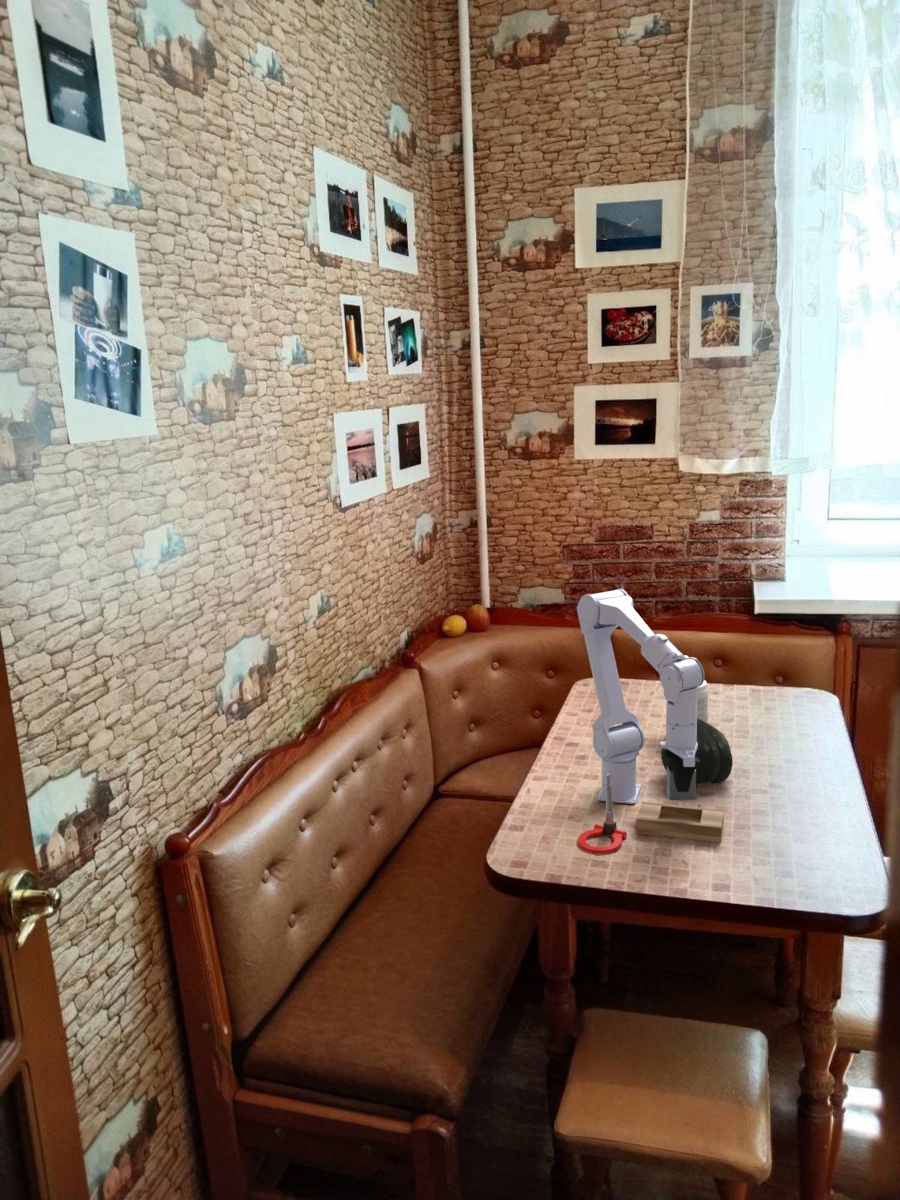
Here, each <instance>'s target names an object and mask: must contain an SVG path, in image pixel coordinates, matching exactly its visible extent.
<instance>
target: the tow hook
mask: <svg viewBox="0 0 900 1200" xmlns="http://www.w3.org/2000/svg"><path fill="white" fill-rule="evenodd" d="M605 792H606V801H605V821H604V822H603V825H600V824H598V823H595V824H594V826H593V829H589V830H586V831H584V832H582V833H580V835H578V838H577V845H578V846H579V848H580V849H581V850H582V851H585V852H587V853H590V852H591V854H597V855H599V854H600V855H603V854H604V855H605V853H606V854H611V853H613V852H616V851H617V850H620V848H621V847H622V845H623V840H626V838H627V837H628V833H627V831H626V830H625V831H624V830H620V829H617V822H616V821H614V810H613V802H612V787H611V784H610V774H606V784H605ZM603 834H604V835H605V836H610V837H611V839H612V841H613V842H612V843H611V844H608V845H605V846H595V845H591V844H589V843H588V842H587V840H588V839H589V838H594V837H598V836H599V837H600V836H602V835H603ZM598 853H599V854H598ZM602 853H603V854H602Z"/></svg>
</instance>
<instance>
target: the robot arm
mask: <svg viewBox="0 0 900 1200" xmlns="http://www.w3.org/2000/svg"><path fill="white" fill-rule="evenodd" d="M576 610H577V611H576V612H577V616H578V621H579V625H580V630H581V633H582V635H583V636H584V637H583V638H584V642H585V646H586V650H587V655H588V660H589V665H590V670H591V674H592V679H593V683H594V688H595V692H596V697H597V703H598V706H599V710H600V714H599V716H597V718H596V719H595V720H594V721H593V724H592V725H591V727H592V734H593V735H592V736H593V737H592V747H593V748H594V751H595V753H596V755H598V758H600V759H601V788H600V791H599V793H598V796H597V797H596V800H597V801H598V802H599V801H600V802H606V792H605V784H606V774H610V784H611V787H612V803H620V804H631V805H635V804H637V800H638V797H639V794H640V790H641V788H642V785H641V784H640V783H637V757H638V756H639V755H640V751H641V750H642V749H643V747H644V746H645V734H644V730H643V729H642V727H641V725H640V723H639V719H638V716H637V715H636V714H635V713H633V712H631V711H630V710H628V709H627V708H626V702H625V699H624V693H623V691H622V685H621V680H620V676H619V671H618V667H617V661H616V658H615V653H614V649H613V643H612V640H611V636H612V634H613V632H614V630H615V629H617V628H618V627H620V628H621V629H622V630H623V631H624V632H625V633H627V634H628V635H629V636H630V637H631V638H632V639H633V640H634V641H635V642H636V643H638V645H640V646H641V647H640V653H641V655H642V656H643V657H644V659H645V660H646V661H647V662H648V663H649V664H650V665H651V667H652V668H653V669H655V671H656V672H658V674H659V680H660V683H661V685H662V689H663V697H664V698H665V700H666V707H665V708H666V711H665V712H666V714H665V715H666V716H665V720H666V722H665V723H666V724H665V725H666V726H665V728H666V729H665V735H666V736H665V739H666V741H665V740H664V741H659V747H660V748H661V749H662V748H663V750H664V751H665V753H666V756H667V758H668V762H669V765H672V768H673V771H674V777H675V784H676V789H677V791H678V792H688V791H689V788H690V784H691V780H692V777H693V774H694V772H695V770H696V768H697V767H698V765H699V763H700V760H699V759H698V758H695V753H696V750H697V747H698V743H697V692H698V688H697V687H700V686H701V685H702V684H703V682H704V680H705V678H706V677H705V670H704V667H703V665H702V663H701V662H700V661H699V660H698V658H696V657H692V656H690V657H689V656H688V655H686V654H685V655H684V653H682V652H681V651H680V650H678V648H677V647H676V646H675V645H674V644H673V643H672V642H671V641H670V640H669V637H668V636H667V635H666V634H663V633H654V632H653V631H652V629H651V628H650V627H649V626H648V624H646V622H645V621H644V619H643V618H642V617H641V616H640V614H639V613H638V612H637V611H636V610H635V608H634V600H633V598H632V597H631V596H630V595H629V594H628V592H627V591H625V589H623V588H617V589H614V590H609V591H603V592H602V591H601V592H597V593H591V594H590V593H587V594H584V595H582V596H581V597H580V599H579V601H578V603H577V606H576Z"/></svg>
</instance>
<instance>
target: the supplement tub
mask: <svg viewBox="0 0 900 1200" xmlns="http://www.w3.org/2000/svg"><path fill="white" fill-rule="evenodd" d="M697 688H698V692H697V718H698V719H700V720H702V721H704V722H706V723H708V724H709V719H708V718H709V710H708V709H709V705H708V704H709V696H708V695H709V694H708V693H709V691H708V690H709V689H708V683H707V680H705V679H704V682H703V684H702V685H701V686H700V687H697Z"/></svg>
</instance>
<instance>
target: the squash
mask: <svg viewBox="0 0 900 1200" xmlns="http://www.w3.org/2000/svg"><path fill="white" fill-rule="evenodd" d="M664 741H666V738H665V739H664ZM697 743H698V747H697V750H696V753H695V758H698V759H699V760H700V763H699V765H698V767H697V768H696V786H697V785H699V786H700V785H702V784H703V783H704V782H705V783H709V784H712V785H713V784H714V785H717V784H721V783H723V782H725V781H726V780H728V778H729V777H730V776H731V773H732V770H733V769H732V768H733V762H734V761H733V755H732V750H731V746H730V744H729V741H728V739H727V738H726V736H725V735H724V734H723V732H722V731H720V729H718V728H716V727H715V726H713V725H712V724H709V722H708V723H706V722H704V721H702V720H700V719H698V718H697ZM660 758H661V763H662V765H663V768H664V770H665V771H666V773H667V765H669V762H668V758H667V756H666V753H665V751H664V750H663V748H661V753H660Z"/></svg>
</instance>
